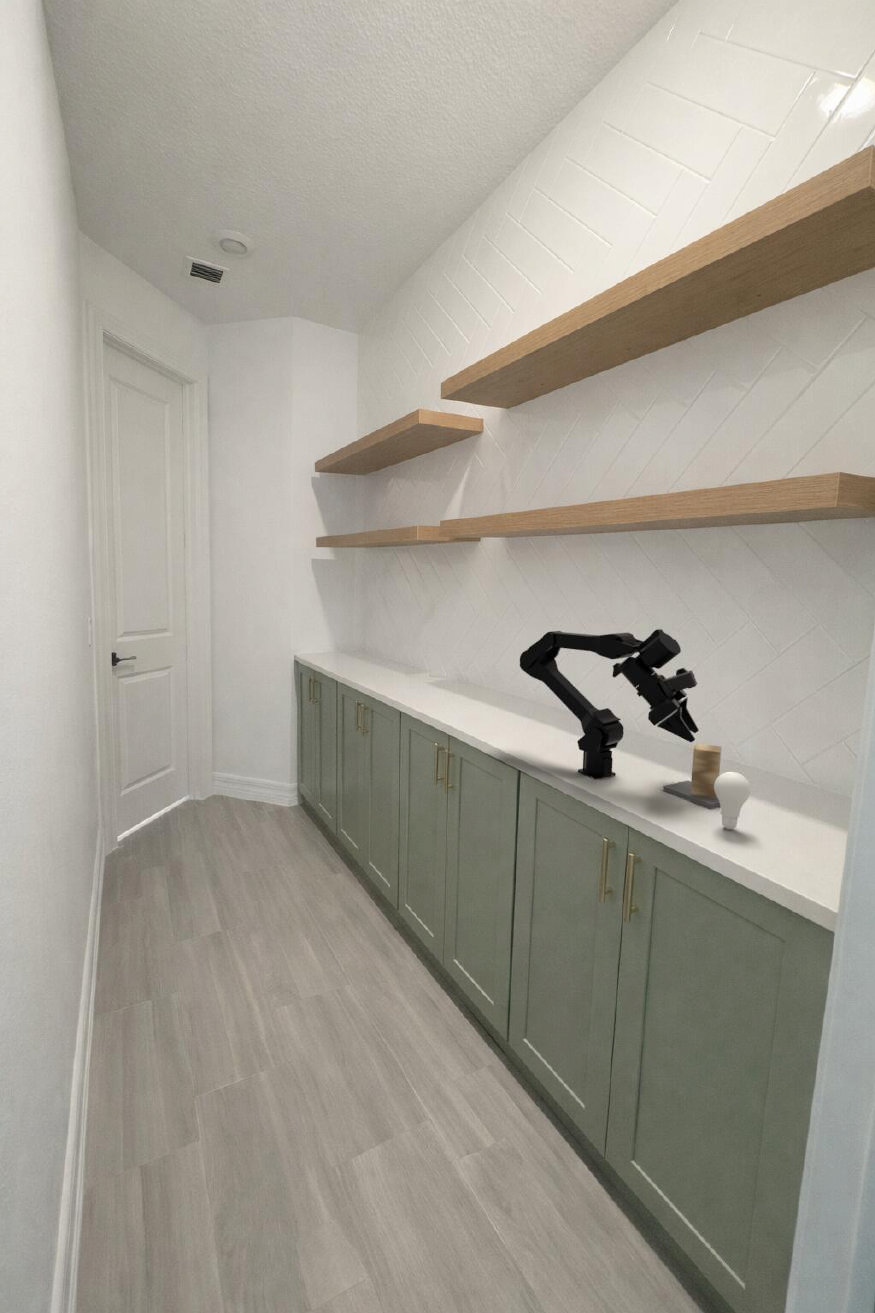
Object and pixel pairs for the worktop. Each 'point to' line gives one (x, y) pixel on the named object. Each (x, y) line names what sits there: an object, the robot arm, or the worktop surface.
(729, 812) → the lightbulb
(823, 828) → the worktop surface
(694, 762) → the oak block
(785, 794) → the worktop surface
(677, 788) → the charcoal mat
